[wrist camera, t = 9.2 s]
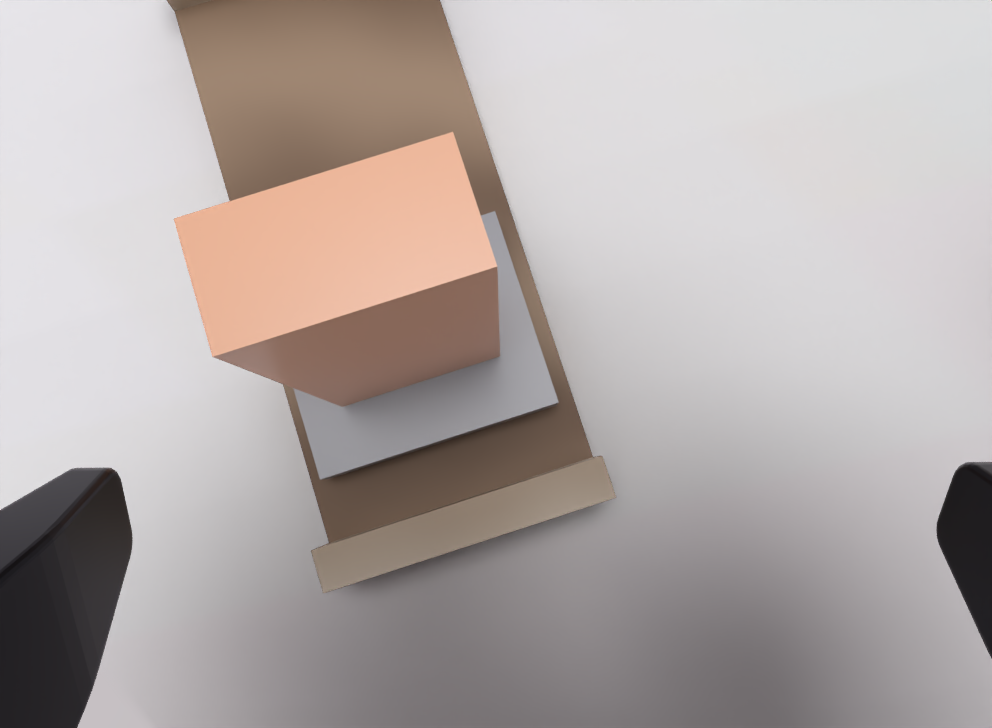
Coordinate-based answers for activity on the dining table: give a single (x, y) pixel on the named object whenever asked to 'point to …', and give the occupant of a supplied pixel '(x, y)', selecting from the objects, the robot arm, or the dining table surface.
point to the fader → (371, 304)
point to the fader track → (354, 137)
